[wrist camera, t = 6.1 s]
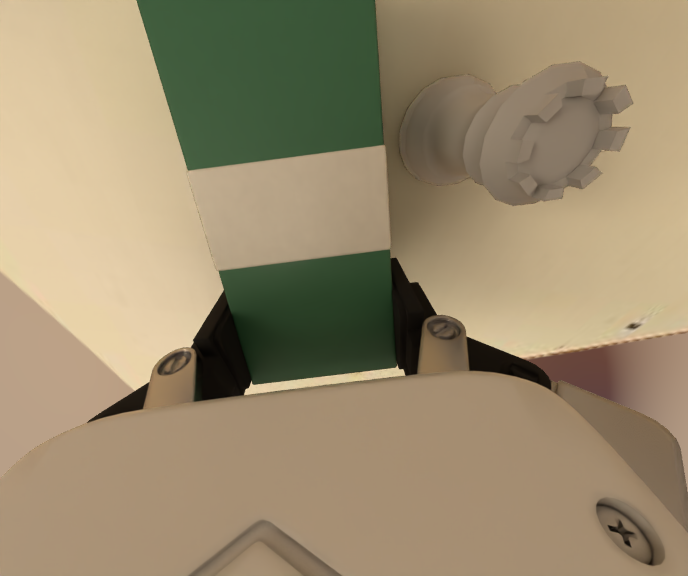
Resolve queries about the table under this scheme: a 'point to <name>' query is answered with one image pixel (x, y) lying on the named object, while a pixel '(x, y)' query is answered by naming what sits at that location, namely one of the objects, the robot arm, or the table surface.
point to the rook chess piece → (514, 132)
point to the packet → (286, 173)
